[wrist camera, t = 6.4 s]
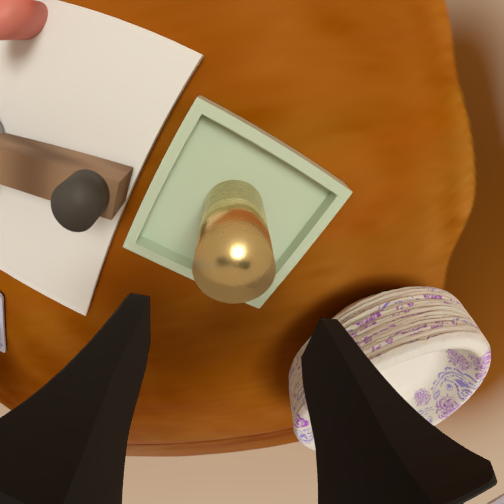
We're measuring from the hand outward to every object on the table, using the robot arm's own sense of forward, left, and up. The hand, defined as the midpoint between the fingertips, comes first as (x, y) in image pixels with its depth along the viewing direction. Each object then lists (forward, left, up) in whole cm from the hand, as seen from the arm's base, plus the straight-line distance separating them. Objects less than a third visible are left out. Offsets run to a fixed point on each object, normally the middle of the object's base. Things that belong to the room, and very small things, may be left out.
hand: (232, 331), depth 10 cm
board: (-3, +17, -9) cm, 19 cm away
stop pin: (0, 0, -9) cm, 9 cm away
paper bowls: (-4, -15, -10) cm, 19 cm away
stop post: (+5, +16, -9) cm, 19 cm away
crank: (-2, +12, -8) cm, 15 cm away
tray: (0, 0, -9) cm, 9 cm away
